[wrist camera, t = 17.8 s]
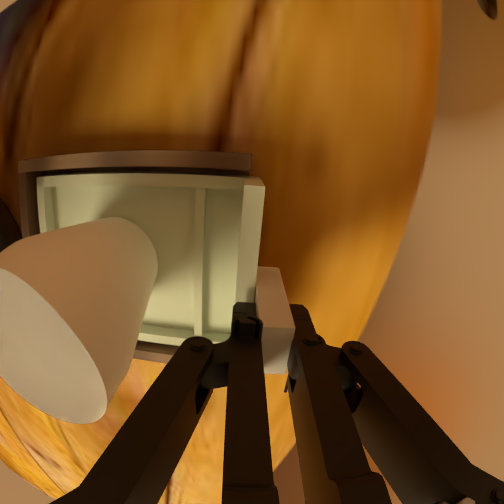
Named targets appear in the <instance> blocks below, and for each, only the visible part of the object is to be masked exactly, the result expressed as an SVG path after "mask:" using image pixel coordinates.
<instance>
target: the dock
mask: <svg viewBox="0 0 504 504" xmlns="http://www.w3.org/2000/svg"><path fill="white" fill-rule="evenodd" d="M251 158H252V154H244V153H230V152H213V151H186V150H132V151H107V152H90V153H77V154H66V155H56V156H48V157H39V158H32V159H25V160H19V161H18V197H19V211H20V221H21V230H22V238H23V239H24V238H26V237H30V236H33V235H37V234H40V225H39V215H38V201H37V177H40V176H44V175H49V174H60V173H78V172H107V171H164V172H195V173H215V174H230V175H244V176H249V171H250V169H251ZM179 347H180V346H177V345H169V344H161V343H154V342H147V341H141V340H137V343H136V347H135V351H134V354H133V358H135V359H141V360H147V361H153V362H160V363H168V362H169V361H170V359H171V358H172V356H173V355H174V354H175V352H176V351H177V349H178V348H179Z"/></svg>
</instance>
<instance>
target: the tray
mask: <svg viewBox="0 0 504 504" xmlns="http://www.w3.org/2000/svg"><path fill="white" fill-rule="evenodd" d="M264 196H265V185H264V183H263V182H262V180H261V179H260V177H256V176H244V175H230V174H215V173H195V172H164V171H107V172H78V173H60V174H49V175H44V176H40V177H37V201H38V215H39V225H40V234H41V233H44V232H48V231H52V230H56V229H60V228H64V227H68V226H72V225H76V224H81V223H85V222H90V221H94V220H98V219H103V218H108V217H119V218H123V219H126V220H129V221H131V222H133V223H134V224H136V225H137V226H139V227H140V228H141V229H142V230H143V231H144V232H145V233H146V234H147V236H148V237H149V239H150V240H151V242H152V244H153V246H154V248H155V251H156V255H157V260H158V271H157V276H156V279H155V282H154V286H153V289H152V292H151V295H150V298H149V302H148V305H147V308H146V312H145V315H144V318H143V322H142V325H141V329H140V332H139V336H138V340H141V341H147V342H154V343H161V344H169V345H177V346H180V345H181V344H182V343H183V341H185V340H186V339H187V338H190V337H194V336H201V337H205V338H208V339H209V340H211V341H212V342H213V344H216V343H221V342H224V341H226V340H227V339H228V338H229V337H230V335H231V322H232V312H233V306H234V305H235V303H236V302H249V303H254V295H255V286H256V276H257V266H258V256H259V247H260V237H261V227H262V217H263V207H264Z"/></svg>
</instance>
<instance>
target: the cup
mask: <svg viewBox="0 0 504 504" xmlns="http://www.w3.org/2000/svg"><path fill="white" fill-rule="evenodd" d="M157 271H158V260H157V255H156V251H155V248H154V246H153V244H152V242H151V240H150V239H149V237H148V236H147V234H146V233H145V232H144V231H143V230H142V229H141V228H140V227H139V226H137V225H136V224H134V223H133V222H131V221H129V220H126V219H123V218H119V217H108V218H103V219H98V220H94V221H90V222H85V223H81V224H76V225H72V226H68V227H64V228H60V229H56V230H52V231H48V232H44V233H41V234H37V235H33V236H30V237H26V238H24V239H21V240H19V241H16V242H14V243H13V244H11V245H10V246H9V247H7V248H6V249H4V250H3V251H2V252H0V376H1V378H2V379H3V380H4V381H5V382H6V383H7V384H8V385H9V386H10V387H11V388H12V389H13V390H14V391H15V392H16V393H17V394H18V395H20V396H21V397H22V398H23V399H24V400H26V401H27V402H28V403H30V404H31V405H33V406H34V407H36V408H37V409H39V410H40V411H42V412H44V413H46V414H48V415H50V416H52V417H54V418H57V419H59V420H62V421H66V422H70V423H75V424H88V423H93V422H95V421H97V420H99V419H100V418H101V417H102V416H103V415H104V413H105V411H106V409H107V407H108V405H109V403H110V402H111V400H112V398H113V396H114V394H115V392H116V390H117V389H118V387H119V385H120V384H121V382H122V381H123V379H124V377H125V376H126V374H127V372H128V370H129V367H130V364H131V361H132V358H133V354H134V351H135V347H136V343H137V340H138V336H139V332H140V329H141V325H142V322H143V318H144V315H145V312H146V308H147V305H148V302H149V298H150V295H151V292H152V289H153V286H154V282H155V279H156V276H157Z"/></svg>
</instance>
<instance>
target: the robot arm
mask: <svg viewBox="0 0 504 504" xmlns="http://www.w3.org/2000/svg"><path fill="white" fill-rule="evenodd" d="M21 239H22V237H21V235H20V232H19V230H18V227H17V225H16V223H15V221H14V219H13V217H12V215H11V214H10V212H9V210H8V209H7V207H6V206H5V205H4V203H3V202H2V201H1V200H0V252H2V251H3V250H4V249H6V248H7V247H9V246H10V245H11V244H13V243H14V242H16V241H19V240H21ZM287 367H288V377H287V381H286V386H285V390H284V392H287V389H288V392H289V398H290V405H291V411H292V417H293V424H294V430H295V436H296V443H297V449H298V456H299V463H300V469H301V476H302V483H303V489H304V496H305V504H392V503H391V500H390V496H389V494H388V490H387V487H386V484H385V481H384V479H383V477H382V476H381V475H380V474H379V473H376V472H372V471H371V469H370V467H369V464H368V461H367V458H366V455H365V452H364V449H363V446H364V447H365V449H366V450H367V452H368V453H369V455H370V456H371V458H372V459H373V461H374V462H375V464H376V465H377V466H378V468H379V470H380V471H381V473H382V474H383V476H384V477H385V478H386V480H387V482H388V483H389V485H390V486H391V488H392V489H393V491H394V492H395V493H396V495H397V496H398V498H399V499H400V501H401V502H402V504H504V482H503V481H501V480H499V479H497V478H495V477H493V476H492V475H490V474H488V473H486V472H485V471H483V470H481V469H479V468H478V467H476V466H474V465H472V464H471V463H470V461H469V460H468V459H467V458H466V457H465V456H464V454H463V453H462V452H461V451H460V450H459V449H458V447H457V446H456V445H455V444H454V443H453V442H452V440H450V438H449V437H448V436H447V435H446V434H445V432H444V431H443V430H442V429H441V428H440V427H439V426H438V424H437V423H436V422H435V421H434V420H433V419H432V418H431V416H430V415H429V414H428V413H427V412H426V411H425V410H424V409H423V408H422V406H421V405H420V404H419V403H418V402H417V401H416V400H415V399H414V397H413V396H412V395H411V394H410V393H409V392H408V391H407V390H406V389H405V387H404V386H403V385H402V384H401V383H400V382H399V381H398V380H397V379H396V378H395V376H394V375H393V374H392V373H391V372H390V371H389V370H388V369H387V368H386V367H385V365H384V364H383V363H382V362H381V361H380V360H379V359H378V358H377V357H376V356H375V355H374V353H372V351H371V350H370V349H369V348H368V347H367V346H366V345H364V344H363V343H360V342H357V341H348V342H345V343H344V344H343V345H342V348H338V347H333V346H329V345H327V344H326V342H325V340H324V339H323V338H322V337H321V336H320V335H318V334H316V331H315V328H314V326H313V323H312V321H311V317H310V315H309V312H308V310H307V309H306V308H305V307H304V306H303V305H298V304H289V302H288V299H287V295H286V291H285V288H284V284H283V281H282V277H281V273H280V270H279V268H278V267H263V266H257V276H256V286H255V295H254V303H249V302H236V303H235V305H234V306H233V312H232V322H231V335H230V337H229V338H228V339H227V340H226V341H224V342H221V343H216V344H213V342H212V341H211V340H209V339H208V338H205V337H201V336H194V337H190V338H187V339H186V340H185V341H183V343H182V344H181V345H180V347H179V348H178V349H177V351H176V352H175V354H174V355H173V356H172V358H171V359H170V361H169V362H168V363H167V365H166V366H165V367H164V369H163V370H162V372H161V373H160V374H159V376H158V377H157V379H156V380H155V381H154V383H153V384H152V385H151V387H150V388H149V390H148V391H147V392H146V394H145V395H144V397H143V398H142V399H141V401H140V402H139V404H138V405H137V406H136V408H135V409H134V410H133V412H132V413H131V415H130V416H129V417H128V419H127V420H126V422H125V423H124V424H123V426H122V427H121V429H120V430H119V431H118V433H117V434H116V436H115V437H114V438H113V440H112V441H111V442H110V444H109V445H108V447H107V448H106V449H105V451H104V452H103V454H102V455H101V456H100V458H99V459H98V461H97V462H96V463H95V465H94V466H93V468H92V469H91V470H90V472H89V473H88V475H87V476H86V477H85V479H84V480H83V482H82V483H81V484H80V486H79V487H77V488H75V489H74V490H72V491H70V492H69V493H67V494H65V495H64V496H62V497H60V498H58V499H57V500H55V501H53V502H51V503H50V504H157V503H158V502H159V500H160V498H161V496H162V494H163V492H164V490H165V488H166V486H167V484H168V482H169V480H170V478H171V476H172V474H173V472H174V470H175V468H176V466H177V464H178V462H179V460H180V458H181V456H182V454H183V452H184V450H185V448H186V446H187V444H188V442H189V440H190V438H191V436H192V434H193V432H194V430H195V428H196V426H197V424H198V422H199V419H200V417H201V415H202V413H203V411H204V409H205V407H206V405H207V403H208V401H209V399H210V397H211V394H212V392H213V389H214V388H220V387H226V386H227V403H226V422H225V441H224V462H223V485H222V504H279V496H278V490H277V487H276V486H275V485H274V481H273V471H272V459H271V447H270V435H269V423H268V412H267V400H266V388H265V377H264V374H286V370H287ZM357 383H359V385H360V386H361V388H360V387H359V386H358V385H357ZM361 442H362V443H361ZM362 444H363V446H362Z"/></svg>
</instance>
